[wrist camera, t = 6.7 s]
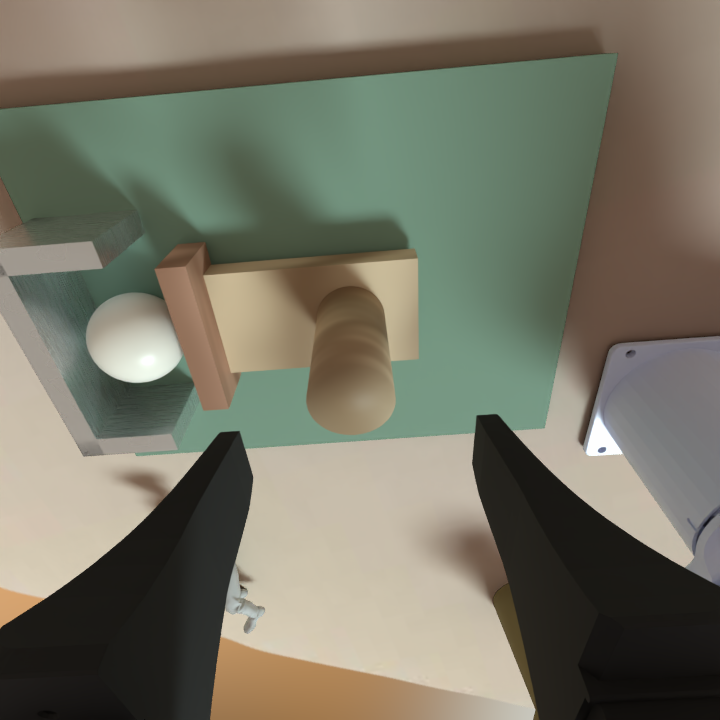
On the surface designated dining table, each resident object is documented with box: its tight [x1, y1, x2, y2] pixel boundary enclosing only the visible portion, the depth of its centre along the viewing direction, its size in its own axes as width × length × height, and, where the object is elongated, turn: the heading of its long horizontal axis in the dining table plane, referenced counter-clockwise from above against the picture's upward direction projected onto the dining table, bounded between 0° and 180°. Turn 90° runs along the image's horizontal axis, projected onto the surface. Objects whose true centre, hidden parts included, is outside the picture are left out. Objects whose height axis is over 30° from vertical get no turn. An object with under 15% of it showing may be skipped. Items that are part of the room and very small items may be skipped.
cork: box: [493, 583, 539, 720], centre depth 33 cm, size 6×6×11 cm
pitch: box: [0, 53, 618, 456], centre depth 22 cm, size 24×18×1 cm
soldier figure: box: [225, 564, 265, 634], centre depth 32 cm, size 8×5×12 cm
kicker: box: [154, 242, 419, 435], centre depth 18 cm, size 10×7×7 cm
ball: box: [86, 292, 184, 383], centre depth 20 cm, size 4×4×4 cm
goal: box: [0, 210, 200, 456], centre depth 20 cm, size 4×10×4 cm, turn 4°
